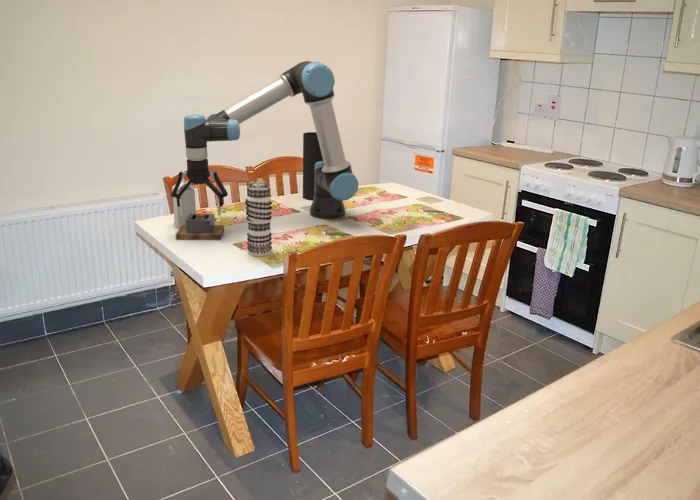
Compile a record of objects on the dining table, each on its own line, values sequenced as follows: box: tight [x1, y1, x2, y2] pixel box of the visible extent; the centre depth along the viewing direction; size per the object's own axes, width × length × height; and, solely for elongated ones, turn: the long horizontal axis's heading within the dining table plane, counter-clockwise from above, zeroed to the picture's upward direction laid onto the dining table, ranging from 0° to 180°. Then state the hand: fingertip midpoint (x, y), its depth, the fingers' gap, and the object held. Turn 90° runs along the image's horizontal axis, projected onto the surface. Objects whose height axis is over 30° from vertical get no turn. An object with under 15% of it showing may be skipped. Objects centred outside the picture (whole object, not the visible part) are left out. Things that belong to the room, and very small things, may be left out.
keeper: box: [175, 212, 225, 241], centre depth 228 cm, size 16×12×8 cm
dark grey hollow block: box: [186, 213, 216, 233], centre depth 228 cm, size 9×9×5 cm
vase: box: [302, 131, 323, 201], centre depth 283 cm, size 10×10×30 cm
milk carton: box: [171, 178, 197, 230], centre depth 236 cm, size 7×7×19 cm
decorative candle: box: [244, 180, 273, 257], centre depth 209 cm, size 9×9×25 cm
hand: (201, 214), depth 227 cm, fingers open, 13 cm apart
